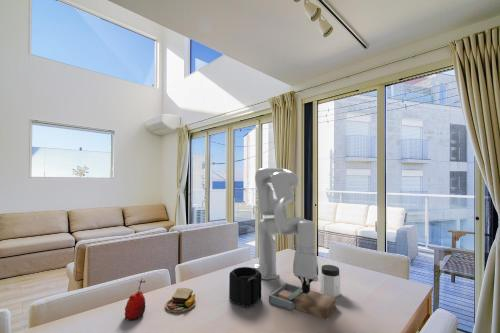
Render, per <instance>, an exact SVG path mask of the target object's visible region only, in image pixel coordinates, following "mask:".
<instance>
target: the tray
mask: <svg viewBox="0 0 500 333" xmlns="http://www.w3.org/2000/svg"><path fill="white" fill-rule="evenodd" d="M299 288H301V289H302V286H297V285H295V284H291V283H287V282H285V283H284V284H282V285H281V286H280V287H278V288H277V289H276V290H274V291H273V292H272V293H270V294H269V295H268V303H270V304H272V305H274V306H277V307H280V308H284V309H286V310H289V311H293V310H294V309H295V308H294V298H295V297H294V298H293V299H291V300H288V301H287V300H284V299H281V298H278V293H280V292H281V291H282V290H286V291H289V292H292V293H293V292H295V291H296V290H298V289H299ZM302 291H303V290H302Z"/></svg>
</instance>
